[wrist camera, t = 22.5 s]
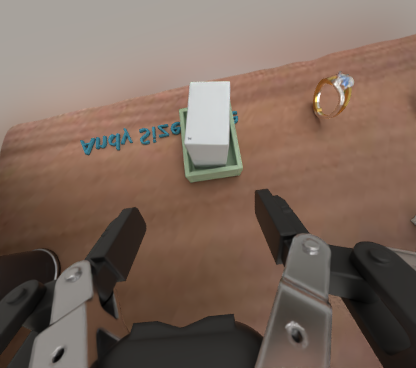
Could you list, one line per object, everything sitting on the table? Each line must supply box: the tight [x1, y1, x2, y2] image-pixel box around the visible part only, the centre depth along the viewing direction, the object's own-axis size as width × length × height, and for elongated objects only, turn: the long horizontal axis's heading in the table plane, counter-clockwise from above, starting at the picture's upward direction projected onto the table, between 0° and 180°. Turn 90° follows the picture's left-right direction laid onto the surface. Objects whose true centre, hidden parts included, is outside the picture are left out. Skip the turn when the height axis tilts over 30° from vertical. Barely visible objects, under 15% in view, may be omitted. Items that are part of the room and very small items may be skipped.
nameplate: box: [80, 111, 238, 155], centre depth 34 cm, size 37×1×5 cm
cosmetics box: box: [184, 81, 230, 169], centre depth 26 cm, size 10×6×10 cm, turn 177°
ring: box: [313, 71, 354, 119], centre depth 28 cm, size 7×3×8 cm, turn 9°
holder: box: [179, 104, 243, 182], centre depth 30 cm, size 10×14×4 cm
